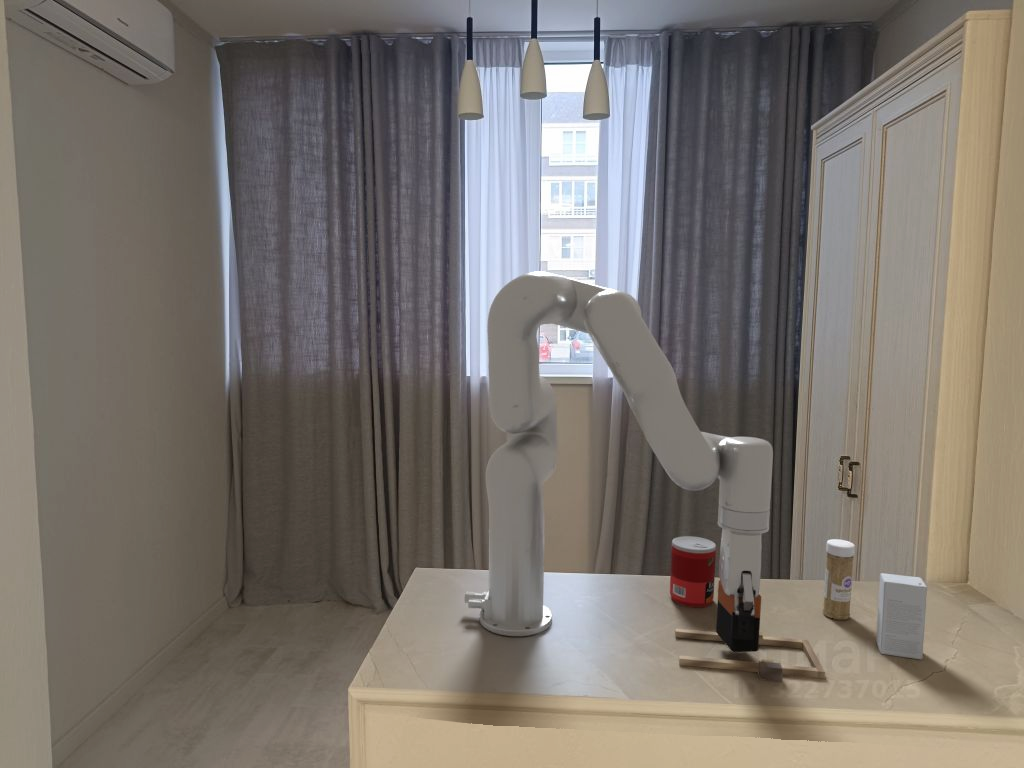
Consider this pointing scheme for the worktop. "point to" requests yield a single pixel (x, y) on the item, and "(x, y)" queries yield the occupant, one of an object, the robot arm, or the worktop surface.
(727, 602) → the battery
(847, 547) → the sprinkles bottle
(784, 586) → the worktop surface
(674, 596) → the canned food
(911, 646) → the skincare box
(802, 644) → the track
